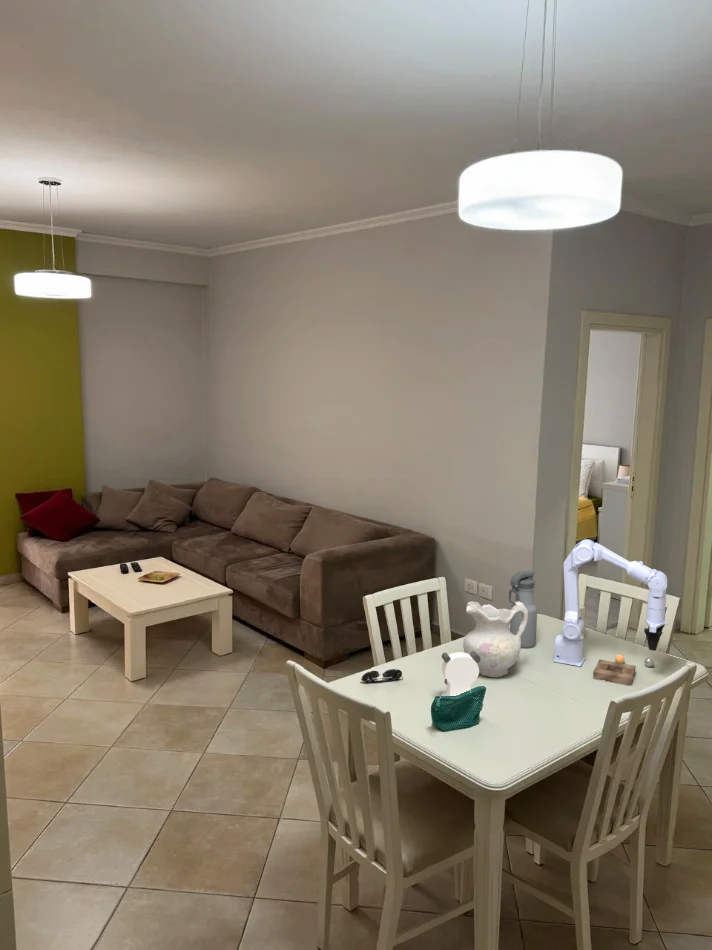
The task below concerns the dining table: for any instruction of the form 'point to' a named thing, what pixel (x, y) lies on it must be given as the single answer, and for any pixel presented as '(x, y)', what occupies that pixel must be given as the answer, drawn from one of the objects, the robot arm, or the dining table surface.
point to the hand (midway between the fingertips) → (653, 646)
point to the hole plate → (614, 672)
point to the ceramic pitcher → (494, 637)
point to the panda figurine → (459, 671)
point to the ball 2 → (649, 662)
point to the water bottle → (525, 594)
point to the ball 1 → (619, 659)
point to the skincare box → (582, 610)
